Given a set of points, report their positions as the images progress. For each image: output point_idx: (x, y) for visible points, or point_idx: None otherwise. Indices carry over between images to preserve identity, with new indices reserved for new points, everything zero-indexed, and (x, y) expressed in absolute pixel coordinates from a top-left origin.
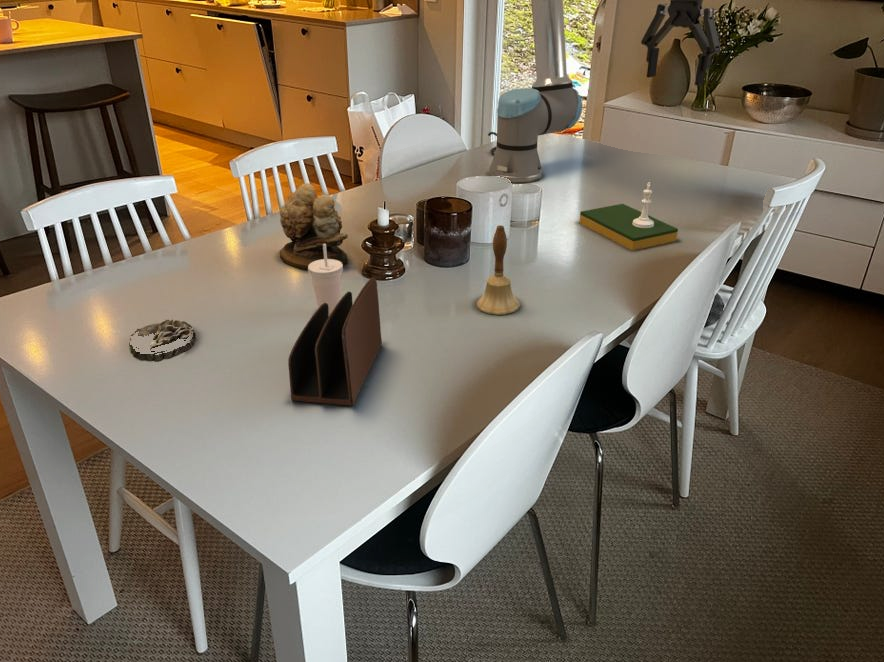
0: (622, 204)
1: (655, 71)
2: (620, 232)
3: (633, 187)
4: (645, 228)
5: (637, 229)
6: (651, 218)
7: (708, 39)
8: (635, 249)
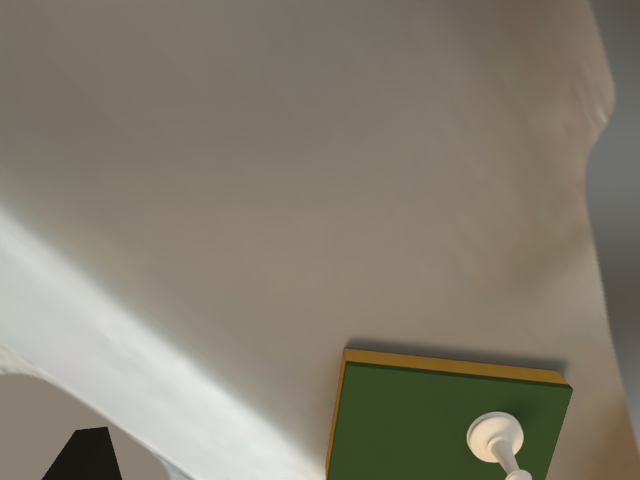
0: (352, 371)
1: (89, 471)
2: None
3: (169, 128)
4: None
5: None
6: (479, 388)
7: None
8: None
